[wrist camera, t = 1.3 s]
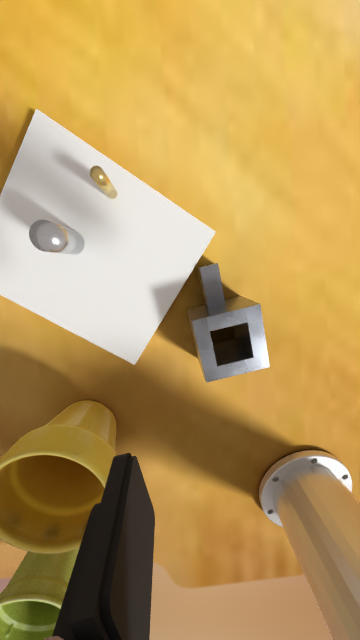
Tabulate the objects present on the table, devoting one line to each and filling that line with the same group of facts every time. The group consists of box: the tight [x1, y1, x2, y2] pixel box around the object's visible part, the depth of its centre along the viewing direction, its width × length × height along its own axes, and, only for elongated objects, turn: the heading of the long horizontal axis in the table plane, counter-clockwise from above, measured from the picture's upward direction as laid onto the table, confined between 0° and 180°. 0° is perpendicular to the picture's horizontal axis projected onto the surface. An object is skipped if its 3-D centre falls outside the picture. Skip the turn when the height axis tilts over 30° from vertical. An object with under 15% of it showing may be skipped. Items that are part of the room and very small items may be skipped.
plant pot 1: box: [0, 400, 117, 554], centre depth 22 cm, size 10×10×10 cm
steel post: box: [29, 220, 85, 255], centre depth 19 cm, size 2×2×5 cm
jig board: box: [0, 109, 216, 365], centre depth 22 cm, size 18×16×1 cm
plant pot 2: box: [0, 548, 79, 640], centre depth 27 cm, size 9×9×9 cm
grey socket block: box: [186, 263, 270, 382], centre depth 22 cm, size 10×6×6 cm, turn 13°
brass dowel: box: [90, 166, 117, 199], centre depth 18 cm, size 1×1×4 cm
